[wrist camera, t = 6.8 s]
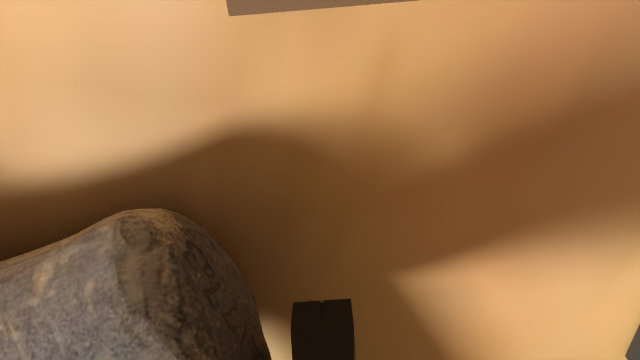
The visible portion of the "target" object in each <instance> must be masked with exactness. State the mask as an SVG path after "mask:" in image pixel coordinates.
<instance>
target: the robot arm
mask: <svg viewBox="0 0 640 360" xmlns="http://www.w3.org/2000/svg"><path fill="white" fill-rule="evenodd" d="M291 343H292V359H293V360H355V341H354V323H353V315H352V307H351V299H339V300H325V301H323V302H320V301H309V302H294V303H293V310H292V321H291Z"/></svg>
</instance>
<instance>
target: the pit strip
mask: <svg viewBox="0 0 640 360" xmlns="http://www.w3.org/2000/svg"><path fill="white" fill-rule="evenodd" d="M626 358H627V359H628V360H640V325H639V328H638V330H637V332H636V334H635V336H634V338H633V341H632V343H631V345H630V347H629V349H628V351H627V354H626Z"/></svg>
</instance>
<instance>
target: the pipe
mask: <svg viewBox="0 0 640 360" xmlns="http://www.w3.org/2000/svg"><path fill="white" fill-rule="evenodd" d="M0 360H271V356H270V352H269V349H268V346H267V343H266V341H265V338H264V335H263V331H262V327H261V323H260V319H259V313H258V310H257V306H256V303H255V300H254V297H253V295H252V293H251V291H250V289H249V287H248V285H247V284H246V282H245V280H244V278H243V276H242V274H241V271H240V270H239V268H238V267H237V265H236V264H235V262H234V261H233V259H232V258H231V256H230V255H229V254H228V253H227V252H226V250H225V249H224V248H223V247H222V246H221V245H220V244H219V243H218V242H217V241H216V240H215V239H214V238H213V236H212V235H211V234H210V233H209V232H208V231H206V230H205V229H204V228H203V227H202V226H201V225H199V224H198V223H196V222H195V221H193V220H191V219H190V218H188V217H186V216H184V215H181V214H178V213H175V212H172V211H169V210H166V209H163V208H153V209H134V210H127V211H121V212H119V213H116V214H114V215H112V216H109V217H107V218H105V219H102V220H100V221H98V222H97V223H95V224H93V225H91V226H89V227H88V228H86V229H84V230H82V231H80V232H79V233H77V234H74V235H72V236H70V237H68V238H65V239H63V240H60V241H58V242H55V243H52V244H50V245H47V246H44V247H42V248H39V249H36V250H33V251H30V252H27V253H25V254H22V255H19V256H16V257H13V258H10V259H7V260H4V261H1V262H0Z"/></svg>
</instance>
